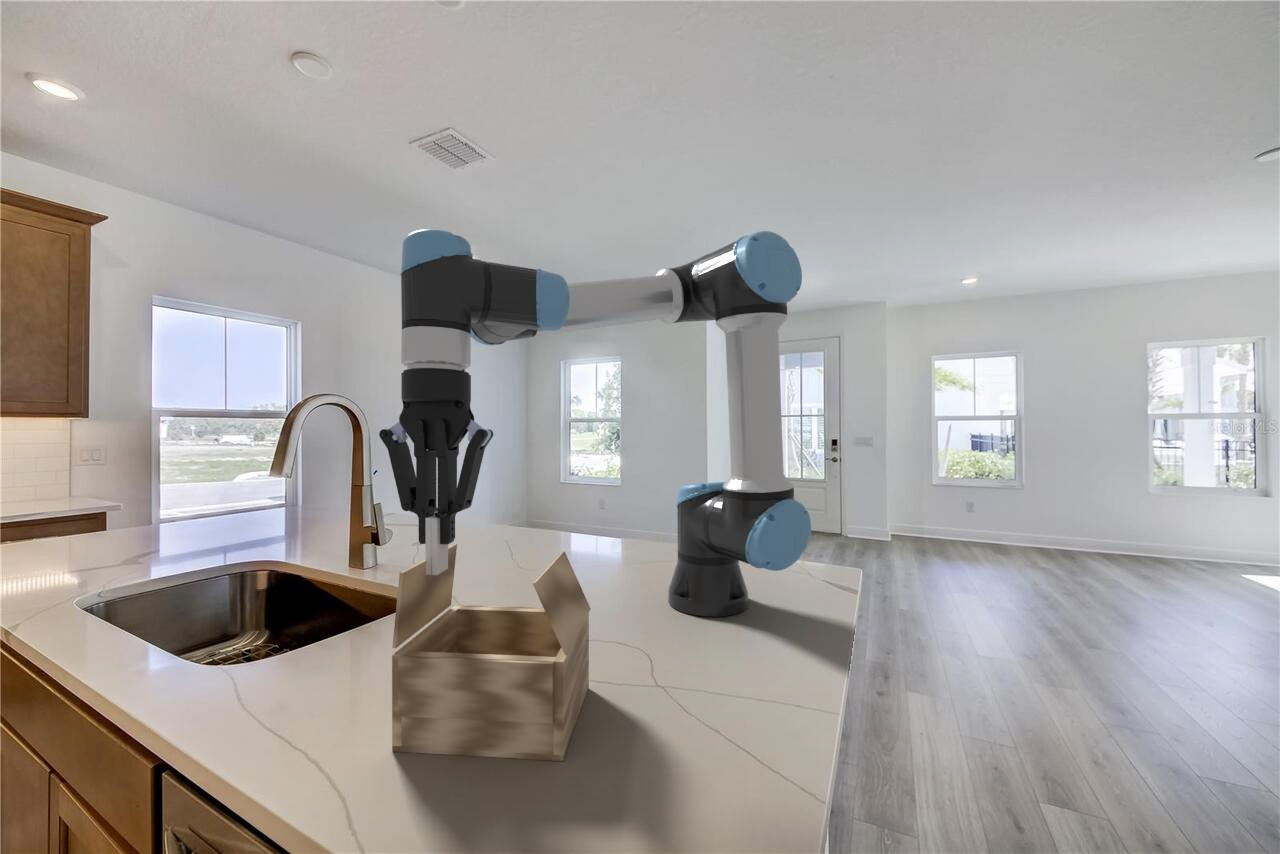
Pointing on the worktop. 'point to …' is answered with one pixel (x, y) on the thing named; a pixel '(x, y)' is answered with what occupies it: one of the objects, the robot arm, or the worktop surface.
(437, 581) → the flap
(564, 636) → the flap
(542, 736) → the carton
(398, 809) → the worktop surface
